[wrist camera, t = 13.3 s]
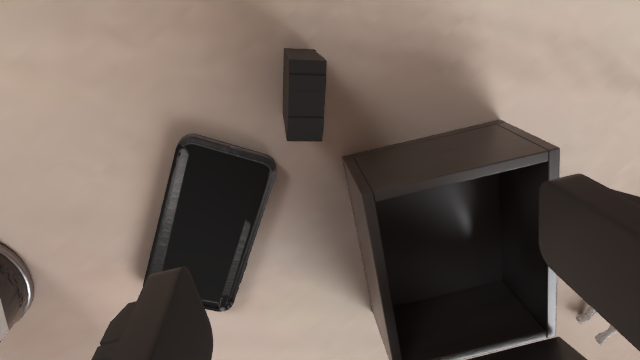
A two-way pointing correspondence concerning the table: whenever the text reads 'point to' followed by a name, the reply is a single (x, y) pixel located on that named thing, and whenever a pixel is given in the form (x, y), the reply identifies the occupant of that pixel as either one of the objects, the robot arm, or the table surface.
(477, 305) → the pen box
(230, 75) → the table surface
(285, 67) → the ink cartridge
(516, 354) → the pen box lid
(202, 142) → the phone
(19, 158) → the table surface
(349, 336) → the table surface
